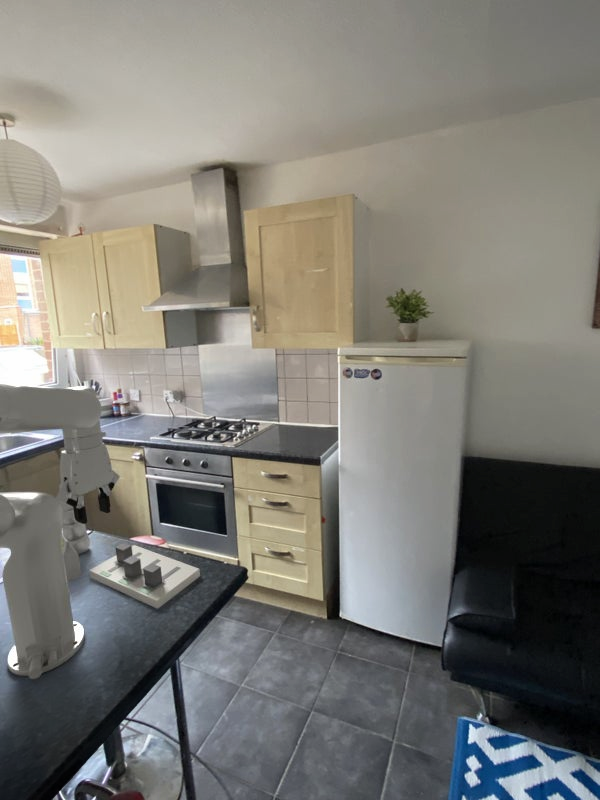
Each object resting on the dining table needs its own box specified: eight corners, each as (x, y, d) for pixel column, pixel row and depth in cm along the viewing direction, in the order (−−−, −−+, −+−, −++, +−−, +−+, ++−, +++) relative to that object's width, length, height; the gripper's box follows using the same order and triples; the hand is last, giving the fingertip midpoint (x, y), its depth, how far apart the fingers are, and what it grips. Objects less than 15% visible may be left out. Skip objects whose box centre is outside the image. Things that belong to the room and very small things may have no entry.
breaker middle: (144, 573, 97) (143, 557, 97) (132, 581, 94) (130, 565, 94) (134, 569, 99) (133, 554, 98) (122, 577, 96) (120, 561, 95)
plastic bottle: (96, 548, 113) (87, 480, 110) (74, 561, 107) (63, 490, 104) (80, 544, 116) (70, 477, 112) (58, 556, 110) (47, 486, 106)
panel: (200, 576, 99) (199, 568, 99) (157, 608, 88) (156, 600, 88) (134, 551, 111) (134, 544, 111) (90, 577, 100) (89, 569, 100)
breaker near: (165, 581, 94) (163, 565, 93) (152, 590, 91) (150, 574, 90) (154, 577, 96) (152, 561, 95) (141, 585, 93) (140, 569, 92)
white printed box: (74, 565, 106) (69, 529, 104) (81, 576, 101) (76, 539, 99) (58, 571, 104) (52, 534, 102) (64, 582, 99) (59, 545, 97)
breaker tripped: (136, 559, 103) (134, 544, 103) (123, 566, 100) (121, 551, 100) (126, 555, 105) (125, 541, 104) (114, 562, 102) (112, 548, 101)
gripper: (107, 430, 100) (115, 499, 104) (34, 450, 86) (47, 529, 89) (127, 434, 97) (135, 505, 100) (54, 454, 82) (67, 537, 85)
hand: (93, 516), depth 94 cm, fingers open, 5 cm apart
